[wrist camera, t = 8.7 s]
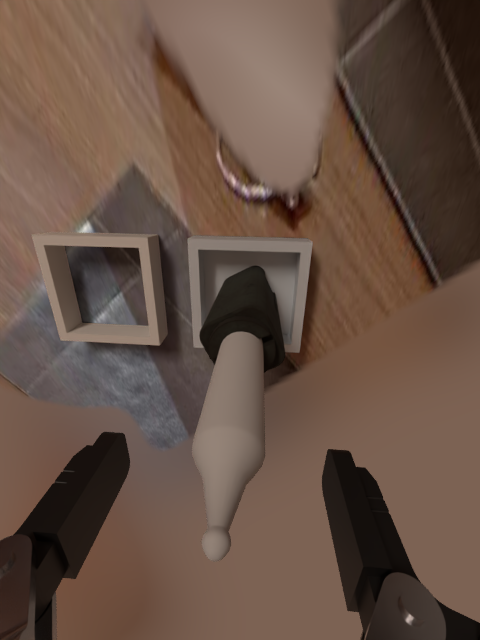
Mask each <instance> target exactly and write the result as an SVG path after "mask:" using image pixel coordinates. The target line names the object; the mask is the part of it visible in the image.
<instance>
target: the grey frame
mask: <svg viewBox="0 0 480 640" xmlns="http://www.w3.org/2000/svg"><path fill="white" fill-rule="evenodd" d="M32 238H33V242H34V246H35V249H36V253H37V256H38V260H39V264H40V267H41V271H42V275H43V278H44V282H45V285H46V289H47V293H48V296H49V300H50V304H51V307H52V311H53V314H54V318H55V322H56V325H57V329H58V332H59V336H60V340H64V341H83V342H103V343H122V344H141V345H160V344H161V343H162V342H163V340H164V339H165V338H166V336H167V335H168V329H167V318H166V308H165V298H164V288H163V278H162V268H161V258H160V248H159V237H158V235H155V234H116V233H77V232H48V233H40V234H32ZM65 246H93V247H128V248H139V253H140V261H141V269H142V277H143V284H144V292H145V300H146V308H147V316H148V323H149V326H139V325H118V324H97V323H82V319H81V314H80V310H79V306H78V302H77V297H76V293H75V289H74V284H73V280H72V276H71V272H70V267H69V263H68V259H67V255H66V250H65Z"/></svg>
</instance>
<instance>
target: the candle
mask: <svg viewBox="0 0 480 640" xmlns="http://www.w3.org/2000/svg"><path fill="white" fill-rule="evenodd" d="M199 337H200V341H201V344H202V345H203V347H204V348H205V350H206V352H207V353H208V355H209V357H210V359H211V360H212V361H213V363H214V365H215V367H214V370H213V374H212V377H211V381H210V384H209V388H208V391H207V395H206V398H205V402H204V405H203V409H202V412H201V416H200V419H199V423H198V426H197V430H196V433H195V437H194V440H193V446H192V454H193V459H194V461H195V464H196V466H197V468H198V470H199V472H200V474H201V476H202V478H203V486H204V495H205V506H206V516H207V525H208V529H207V531H206V532H205V534H204V536H203V539H202V548H203V550H204V553H205V554H206V556H207V557H208V558H209V559H210V560H211V561H219V560H221V559H223V557H225V555H226V554H227V553H228V552H229V549H230V546H231V539H230V535H229V532H228V531H229V529H230V526H231V523H232V521H233V518H234V515H235V513H236V510H237V508H238V505H239V502H240V500H241V497H242V494H243V492H244V489H245V486H246V485H247V484H248V482H249V481H250V480H251V479H252V478H253V477H254V476H255V474H256V473H257V472H258V470H259V469H260V468H261V466H262V464H263V461H264V458H265V423H264V422H265V421H264V373H265V372H266V371H267V370H269V369H272V368H275V367H277V366H279V365H280V364H281V363H282V362H283V360H284V358H285V347H284V341H283V335H282V329H281V323H280V317H279V311H278V305H277V299H276V294H275V292H273V291H272V289H271V287H270V285H269V283H268V281H267V279H266V276H265V271H264V269H263V268H261V267H260V266H251V267H249V268H246V269H244V270H242V271H240V272H238V273H236V274H234V275H232V276H230V277H228V278H227V279H225V281H224V283H223V285H222V287H221V289H220V291H219V293H218V295H217V297H216V299H215V301H214V303H213V305H212V307H211V309H210V312H209V314H208V316H207V318H206V320H205V322H204V324H203V326H202V328H201V330H200V334H199Z"/></svg>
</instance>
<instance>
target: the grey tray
mask: <svg viewBox="0 0 480 640" xmlns="http://www.w3.org/2000/svg"><path fill="white" fill-rule="evenodd" d="M312 244H313V242H312V241H311V240H309V239H308V238H273V237H234V236H192V237H190V238H188V256H189V273H190V290H191V307H192V325H193V342H194V347H198V348H204V347H203V345H202V344H201V341H200V337H199V334H200V330H201V328H202V326H203V324H204V322H205V320H206V318H207V316H208V314H209V312H210V309H211V307H212V305H213V303H214V301H215V299H216V297H217V295H218V293H219V291H220V289H221V287H222V285H223V283H224V281H225V279H227V278H228V277H230V276H232V275H234V274H236V273H238V272H240V271H242V270H244V269H246V268H249V267H251V266H260V267H261V268H263V269H264V271H265V276H266V279H267V281H268V283H269V285H270V287H271V289H272V291H273V292H275V294H276V299H277V305H278V311H279V317H280V323H281V329H282V335H283V341H284V347H285V352H294V353H300V345H301V336H302V328H303V320H304V311H305V303H306V294H307V286H308V278H309V269H310V261H311V252H312Z"/></svg>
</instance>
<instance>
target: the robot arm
mask: <svg viewBox="0 0 480 640" xmlns="http://www.w3.org/2000/svg"><path fill="white" fill-rule="evenodd" d="M129 466H130V458H129V453H128V448H127V443H126V438H125V435H124V434H123V433H114V432H103V433H102V434H101V435H100V436H99V438H98V439H97V440H96V442H95V443H94V445H93V446H90V445H87V446H86V447H84V448H83V449H82V450H81V451H79V452H78V453H77V454H76V455H74V456H73V458H72V459H71V460H70V462H69V463H68V464H67V466H66V467H65V468H64V471H63V472H61V474H60V475H59V476H58V477H57V479H56V480H55V483H54V484H52V485H51V487H50V488H49V489H48V491H47V492H46V494H45V495H44V496H43V497H42V499H41V500H40V501H39V503H38V504H37V505H36V507H35V508H34V509H33V511H32V512H31V513H30V515H29V516H28V518H27V519H26V520H25V521H24V523H23V524H22V525H21V527H20V528H19V529H18V530H17V532H16V533H15V534H14V535H12V536H9V537H6V538H4V539H2V540H0V640H57V620H56V619H57V616H56V592H55V591H56V589H57V588H58V586H59V584H60V582H61V580H62V578H71V579H76V577H77V575H78V573H79V571H80V569H81V567H82V565H83V563H84V561H85V559H86V557H87V555H88V553H89V551H90V549H91V547H92V545H93V543H94V541H95V539H96V537H97V535H98V533H99V531H100V529H101V527H102V525H103V523H104V521H105V519H106V517H107V515H108V513H109V511H110V509H111V507H112V505H113V503H114V501H115V499H116V497H117V495H118V493H119V491H120V489H121V487H122V485H123V483H124V481H125V479H126V477H127V474H128V471H129ZM322 490H323V496H324V501H325V506H326V510H327V515H328V520H329V525H330V529H331V534H332V539H333V544H334V548H335V553H336V558H337V563H338V567H339V572H340V577H341V582H342V586H343V591H344V596H345V601H346V605H347V610H348V611H354V612H359V614H360V619H361V623H362V627H363V632H362V634H361V637H360V640H480V623H479V622H476V621H474V620H472V619H470V618H468V617H466V616H464V615H462V614H460V613H458V612H456V611H454V610H452V609H450V608H448V607H446V606H445V605H443V604H442V603H440V602H439V601H438V600H437V599H436V598H434V597H433V595H432V594H431V593H430V592H429V590H428V589H426V587H425V586H424V585H423V584H421V582H420V581H419V579H418V578H417V576H416V574H415V573H414V571H413V569H412V566H411V564H410V561H409V559H408V556H407V554H406V552H405V549H404V547H403V544H402V542H401V539H400V537H399V535H398V533H397V530H396V527H395V525H394V523H393V520H392V518H391V515H390V514H389V510H388V508H387V506H386V504H385V501H384V500H383V496H382V493H381V491H380V489H379V486H378V484H377V482H376V480H375V479H374V478H373V477H372V475H371V474H370V473H369V472H368V470H367V469H366V468H361V467H356V466H355V463H354V461H353V458H352V455H351V453H350V452H349V451H346V450H333V449H328V451H327V455H326V460H325V465H324V470H323V475H322Z"/></svg>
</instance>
